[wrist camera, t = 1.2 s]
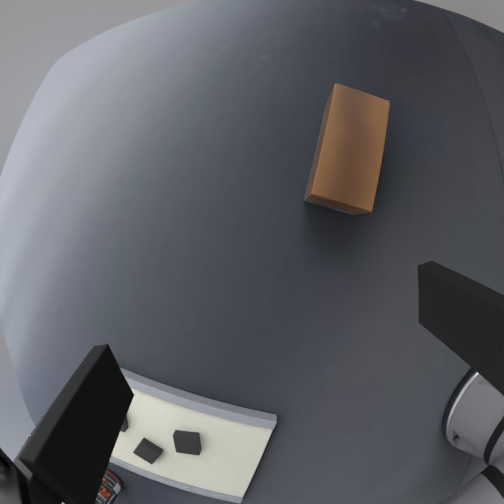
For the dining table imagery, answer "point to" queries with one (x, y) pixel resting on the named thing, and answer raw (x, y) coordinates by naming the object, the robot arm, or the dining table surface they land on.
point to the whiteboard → (211, 437)
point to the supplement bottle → (108, 489)
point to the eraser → (348, 151)
